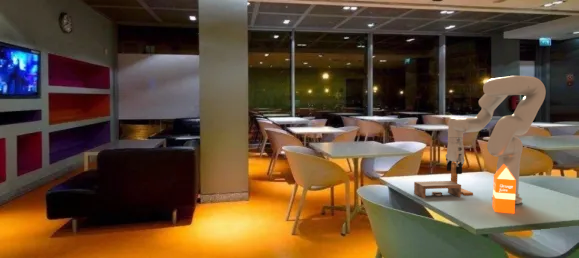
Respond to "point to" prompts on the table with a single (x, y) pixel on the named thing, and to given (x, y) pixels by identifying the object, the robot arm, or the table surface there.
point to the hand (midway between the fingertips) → (454, 172)
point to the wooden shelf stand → (437, 187)
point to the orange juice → (504, 191)
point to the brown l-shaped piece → (454, 179)
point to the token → (436, 193)
